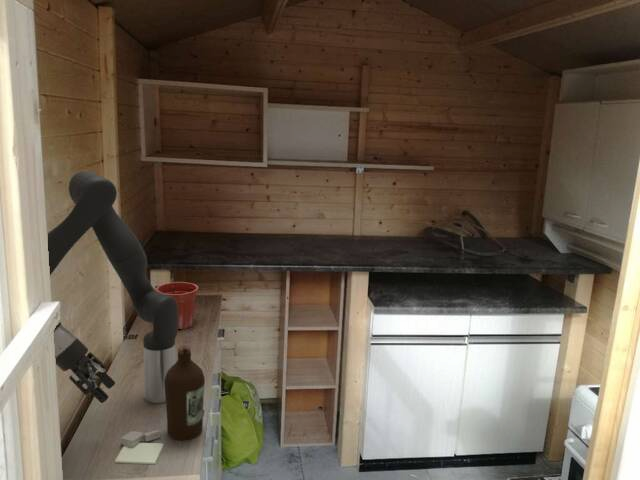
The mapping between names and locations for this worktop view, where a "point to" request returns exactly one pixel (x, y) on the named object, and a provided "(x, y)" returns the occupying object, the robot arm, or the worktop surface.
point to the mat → (140, 453)
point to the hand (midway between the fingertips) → (109, 392)
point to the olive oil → (184, 397)
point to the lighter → (138, 437)
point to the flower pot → (181, 300)
